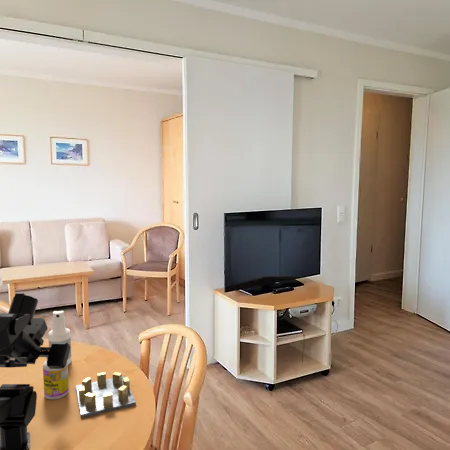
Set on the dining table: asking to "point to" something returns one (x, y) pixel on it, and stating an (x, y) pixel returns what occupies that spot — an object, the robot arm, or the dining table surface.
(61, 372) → the supplement bottle
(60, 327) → the spray bottle
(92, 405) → the grey tray with blocks
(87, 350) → the dining table surface
